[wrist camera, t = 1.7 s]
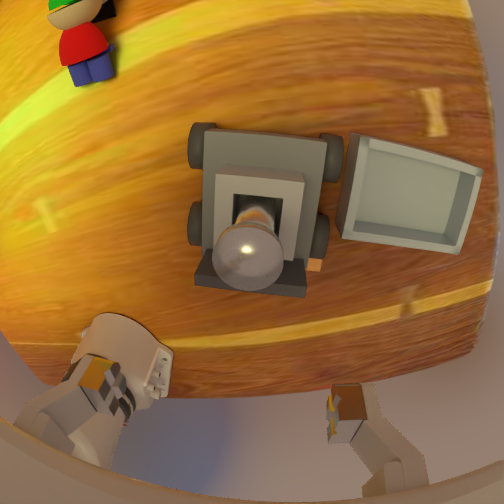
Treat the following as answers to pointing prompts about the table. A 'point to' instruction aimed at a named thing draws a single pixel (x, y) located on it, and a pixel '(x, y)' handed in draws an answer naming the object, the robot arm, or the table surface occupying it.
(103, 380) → the robot arm
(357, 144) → the tray
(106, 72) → the toy
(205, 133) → the trolley
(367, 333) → the table surface
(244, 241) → the pin
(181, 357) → the table surface
